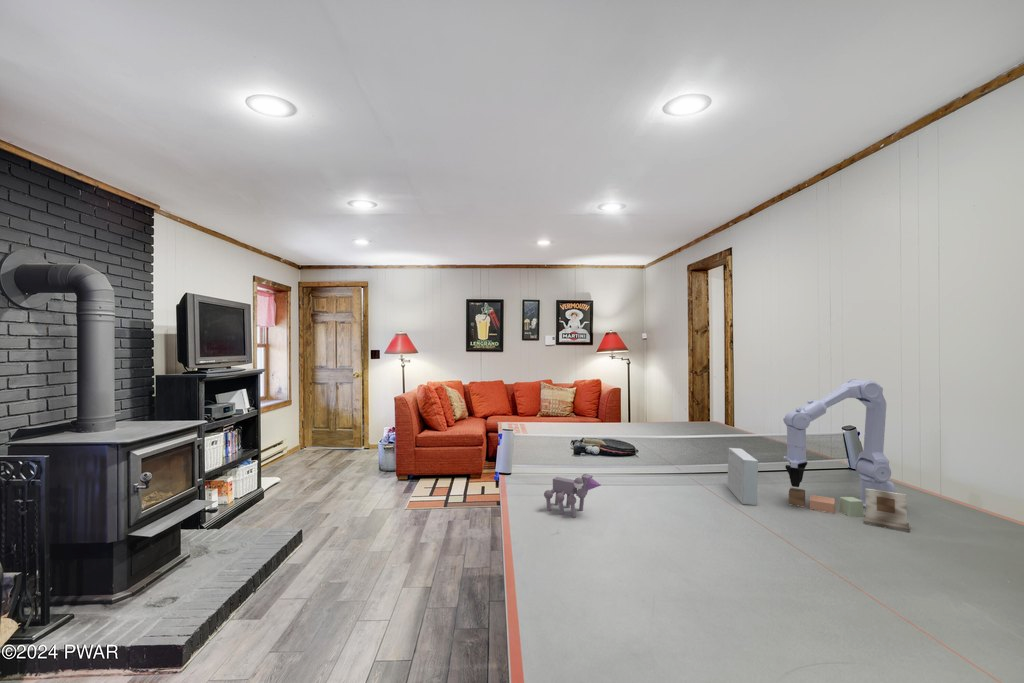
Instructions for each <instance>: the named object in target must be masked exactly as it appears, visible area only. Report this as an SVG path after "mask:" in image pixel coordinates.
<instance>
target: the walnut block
mask: <svg viewBox="0 0 1024 683" xmlns="http://www.w3.org/2000/svg"><path fill="white" fill-rule="evenodd" d="M789 504H793V505H792V506H794V505H799V506H804V505H805V506H806V489H801V488H798V487H789V489H788V505H789ZM799 506H798V507H799ZM805 506H804V507H805Z"/></svg>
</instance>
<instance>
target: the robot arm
mask: <svg viewBox="0 0 1024 683" xmlns="http://www.w3.org/2000/svg"><path fill="white" fill-rule="evenodd" d="M883 391H884V388H883V387H882V386H881V385H880V384H878V383H877V382H876V381H873V380H862V379H861V380H860V379H856V378H855V379H854V378H852V379H849V380H847V381H846V382H843V383H842V384H841V385H840V386H839V387H838V388H836V389H835V390H833V391H831V392H830V393H828V394H827V395H826V396H824V397H822V398H821V399H820V400H818V399H813V400H812V399H809V400H807V401H806V402H807V403H806V404H804V405H802V406H801V407H797V408H795V411H794V410H791V411H788V412H787V413H786V414H785V415H784V418H783V422H784V424H785V425H786V448H787V449H786V455H784V456H783V460H787V461H788V463H789V465H788V464H785V469H786V471H787V473H788V476H789V481H790V485H791V486H792V488H799V487H800V486H801V485H800V484H801V483H802V481H803V477H804V472H805V469H806V467H807V465H808V459H807V429H808V428H809V427H810V425H811V424H810V423H811V422H814V420H816V419H818V418H819V417H822V416H824V415H825V414H826V413H827V409H828V408H831V407H832V406H834V405H836V404H837V403H840V402H842V401H844V400H846V399H856V400H858V401H859V402H860V403H862V404H863V405H864V406H865V408H866V409H865V420H864V421H865V422H864V423H865V424H864V436H863V437H864V440H863V450H862V451H861V452H859V453H858V456H857V460H856V461H855V463H854V469H855V471H856V472H857V473H858V476H859V496H860V497H859V498H858V499H859V500H861V501H863V508H866V489H873V490H879V491H886V492H893V493H897V490H896V487H895V484H894V483H893V481H891V480H890V478H891V477H892V470H891V467H890V460H889V459H888V458H887V457H886V455H885V453H884V447H885V446H884V445H885V431H886V417H887V414H886V413H887V400H886V399H885V396H884V394H883Z"/></svg>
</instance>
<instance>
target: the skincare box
mask: <svg viewBox="0 0 1024 683" xmlns="http://www.w3.org/2000/svg"><path fill="white" fill-rule="evenodd" d="M727 455H728V458H727V460H728V461H727V484H726V485H727V486H726V487H727V488H728V490H729V491H730V492H731V493H732V494H733V495H734V496H735V497H736V499H738V501H739V502H740V503H741V504H742V505H753V506H757V505H758V482H759V481H758V480H759V479H758V476H759V474H758V473H759V470H758V469H759V460H758V459H756V458H755V457H753V456H752V455H751V454H749V453H748V452H746V451H745V450H744V449H743V448H740V447H739V448H737V447H728V454H727Z"/></svg>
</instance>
